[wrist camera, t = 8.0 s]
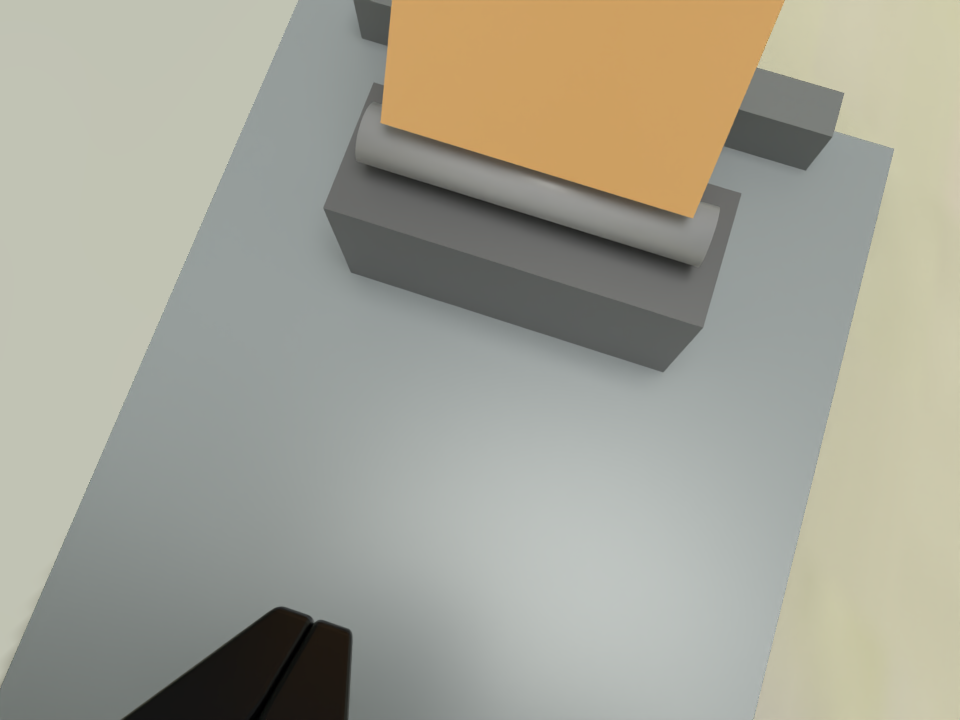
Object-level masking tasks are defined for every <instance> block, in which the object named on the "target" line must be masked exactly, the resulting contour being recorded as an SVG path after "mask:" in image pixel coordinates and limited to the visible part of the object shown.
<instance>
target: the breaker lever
mask: <svg viewBox="0 0 960 720" xmlns="http://www.w3.org/2000/svg"><path fill="white" fill-rule="evenodd" d="M784 1H785V0H392V5H391V16H390V26H389V37H388V48H387V58H386V69H385V80H384V90H383V101H382V104H379V103H375V102H372V103H371V104H370V105H369V106H368V108H367V109H366V111H365V113H364V115H363V118H362V120H361V123H360V127H359V130H358V134H357V139H356V147H355V156H356V160H357V161H358V162H360V163H363V164H367V165H370V166H373V167H376V168H380V169H383V170H386V171H389V172H392V173H396V174H399V175H402V176H405V177H409V178H412V179H415V180H418V181H422V182H425V183H428V184H431V185H434V186H438V187H441V188H444V189H447V190H451V191H454V192H457V193H460V194H463V195H467V196H470V197H473V198H476V199H480V200H483V201H486V202H489V203H493V204H496V205H499V206H502V207H505V208H509V209H512V210H515V211H518V212H522V213H525V214H528V215H531V216H535V217H538V218H541V219H544V220H547V221H551V222H554V223H557V224H560V225H564V226H567V227H570V228H573V229H577V230H580V231H583V232H586V233H589V234H593V235H596V236H599V237H602V238H606V239H609V240H612V241H615V242H618V243H622V244H625V245H628V246H631V247H635V248H638V249H641V250H644V251H648V252H651V253H654V254H657V255H660V256H664V257H667V258H670V259H673V260H677V261H680V262H683V263H686V264H690V265H693V266H696V267H699V266H700V265H701V263H702V262H703V260H704V258H705V255H706V253H707V251H708V248H709V246H710V243H711V240H712V238H713V235H714V232H715V229H716V225H717V222H718V218H719V213H720V207H718V206H714V205H711V204H708V203H705V202H701V198H702V196H703V193H704V191H705V189H706V186H707V184H708V182H709V179H710V177H711V174H712V172H713V170H714V167H715V165H716V163H717V160H718V158H719V155H720V153H721V151H722V148H723V146H724V144H725V141H726V139H727V136H728V134H729V132H730V129H731V127H732V125H733V122H734V120H735V117H736V115H737V113H738V110H739V108H740V106H741V103H742V101H743V98H744V96H745V94H746V91H747V89H748V87H749V84H750V82H751V79H752V77H753V75H754V72H755V70H756V67H757V65H758V63H759V60H760V58H761V56H762V53H763V51H764V48H765V46H766V44H767V41H768V39H769V37H770V34H771V32H772V29H773V27H774V25H775V22H776V20H777V18H778V15H779V13H780V10H781V8H782V6H783V3H784Z"/></svg>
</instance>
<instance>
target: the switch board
mask: <svg viewBox="0 0 960 720" xmlns="http://www.w3.org/2000/svg"><path fill="white" fill-rule="evenodd" d="M391 5H392V0H299V1H298V3H297V5H296V7H295V10H294V12H293V14H292V17H291V19H290V21H289V23H288V26H287V28H286V30H285V33H284V35H283V37H282V40H281V42H280V44H279V47H278V49H277V51H276V53H275V56H274V58H273V60H272V63H271V65H270V67H269V70H268V72H267V74H266V77H265V79H264V81H263V83H262V86H261V88H260V90H259V93H258V95H257V97H256V100H255V102H254V104H253V107H252V109H251V111H250V114H249V116H248V118H247V121H246V123H245V125H244V127H243V130H242V132H241V134H240V137H239V139H238V141H237V143H236V146H235V148H234V150H233V153H232V155H231V157H230V160H229V162H228V164H227V167H226V169H225V172H224V173H223V176H222V178H221V180H220V183H219V185H218V187H217V190H216V192H215V194H214V197H213V199H212V201H211V203H210V206H209V208H208V210H207V213H206V215H205V217H204V220H203V222H202V224H201V227H200V229H199V231H198V234H197V236H196V238H195V240H194V243H193V245H192V247H191V250H190V252H189V254H188V256H187V259H186V261H185V263H184V266H183V268H182V270H181V273H180V275H179V277H178V279H177V282H176V284H175V286H174V289H173V292H172V293H171V296H170V298H169V300H168V303H167V305H166V307H165V310H164V312H163V314H162V316H161V319H160V321H159V324H158V326H157V328H156V330H155V333H154V335H153V337H152V340H151V342H150V344H149V346H148V349H147V351H146V353H145V356H144V358H143V360H142V363H141V365H140V367H139V370H138V372H137V374H136V376H135V379H134V381H133V383H132V386H131V388H130V390H129V393H128V395H127V397H126V399H125V402H124V404H123V406H122V409H121V411H120V414H119V416H118V418H117V420H116V423H115V425H114V427H113V430H112V432H111V434H110V436H109V439H108V441H107V443H106V446H105V448H104V450H103V452H102V455H101V457H100V459H99V462H98V464H97V467H96V469H95V471H94V474H93V476H92V478H91V480H90V482H89V485H88V487H87V490H86V492H85V494H84V496H83V499H82V501H81V503H80V506H79V508H78V510H77V513H76V515H75V517H74V519H73V522H72V524H71V526H70V529H69V531H68V533H67V536H66V538H65V540H64V542H63V545H62V547H61V549H60V552H59V554H58V556H57V559H56V561H55V563H54V566H53V568H52V570H51V572H50V575H49V577H48V579H47V582H46V584H45V586H44V589H43V591H42V593H41V596H40V598H39V600H38V602H37V605H36V607H35V609H34V612H33V614H32V616H31V619H30V621H29V623H28V625H27V628H26V630H25V632H24V635H23V637H22V639H21V642H20V644H19V646H18V649H17V651H16V653H15V655H14V658H13V660H12V662H11V665H10V667H9V669H8V672H7V674H6V676H5V679H4V681H3V683H2V685H1V688H0V720H121V719H122V718H123V717H125V716H126V715H128V714H129V713H130V712H132V711H133V710H134V709H136V708H137V707H138V706H140V705H141V704H143V703H144V702H145V701H147V700H148V699H149V698H151V697H152V696H154V695H155V694H156V693H158V692H159V691H160V690H162V689H163V688H165V687H166V686H167V685H169V684H170V683H171V682H173V681H174V680H175V679H177V678H178V677H180V676H181V675H182V674H184V673H185V672H186V671H188V670H189V669H191V668H192V667H193V666H195V665H196V664H197V663H199V662H200V661H202V660H203V659H204V658H206V657H207V656H208V655H210V654H211V653H212V652H214V651H215V650H217V649H218V648H219V647H221V646H222V645H223V644H225V643H226V642H228V641H229V640H230V639H232V638H233V637H234V636H236V635H237V634H239V633H240V632H241V631H243V630H244V629H245V628H247V627H248V626H249V625H251V624H252V623H254V622H255V621H256V620H258V619H259V618H260V617H262V616H263V615H265V614H266V613H267V612H269V611H270V610H272V609H273V608H275V607H279V606H284V607H287V608H290V609H293V610H296V611H299V612H302V613H305V614H308V615H310V616H311V617H312V618H313V619H314V623H315V622H316V621H317V620H325V621H328V622H331V623H334V624H337V625H340V626H343V627H345V628H348V629H350V630H351V631H352V634H353V646H352V665H351V684H350V703H349V720H753V719H754V715H755V711H756V707H757V703H758V699H759V695H760V691H761V687H762V683H763V679H764V675H765V671H766V667H767V663H768V659H769V654H770V650H771V646H772V642H773V638H774V634H775V630H776V626H777V622H778V618H779V614H780V610H781V606H782V602H783V598H784V594H785V590H786V586H787V581H788V577H789V573H790V569H791V565H792V561H793V557H794V553H795V549H796V545H797V541H798V537H799V533H800V529H801V525H802V521H803V517H804V512H805V508H806V504H807V500H808V496H809V492H810V488H811V484H812V480H813V476H814V472H815V468H816V464H817V460H818V456H819V452H820V448H821V444H822V439H823V435H824V431H825V427H826V423H827V419H828V415H829V411H830V407H831V403H832V399H833V395H834V391H835V387H836V383H837V379H838V375H839V370H840V366H841V362H842V358H843V354H844V350H845V346H846V342H847V338H848V334H849V330H850V326H851V322H852V318H853V314H854V310H855V306H856V302H857V297H858V293H859V289H860V285H861V281H862V277H863V273H864V269H865V265H866V261H867V257H868V253H869V249H870V245H871V241H872V237H873V233H874V228H875V224H876V220H877V216H878V212H879V208H880V204H881V200H882V196H883V192H884V188H885V184H886V180H887V176H888V172H889V168H890V164H891V160H892V155H893V151H894V149H893V148H889V147H886V146H883V145H879V144H876V143H872V142H869V141H866V140H862V139H859V138H855V137H852V136H849V135H845V134H842V133H838V132H835V131H834V130H835V126H836V122H837V118H838V115H839V111H840V107H841V103H842V99H843V96H844V93H842V92H839V91H835V90H832V89H829V88H825V87H822V86H818V85H815V84H811V83H808V82H804V81H801V80H798V79H794V78H791V77H787V76H784V75H780V74H777V73H774V72H770V71H767V70H763V69H760V68H756V70H755V72H754V75H753V77H752V79H751V82H750V84H749V87H748V89H747V91H746V94H745V96H744V98H743V101H742V103H741V106H740V108H739V110H738V113H737V115H736V117H735V120H734V122H733V125H732V127H731V129H730V132H729V134H728V136H727V139H726V141H725V144H724V146H723V148H722V151H721V153H720V155H719V158H718V160H717V163H716V165H715V167H714V170H713V172H712V174H711V177H710V179H709V182H708V184H707V186H706V189H705V191H704V193H703V196H702V198H701V202H705V203H708V204H711V205H714V206H718V207H720V213H719V218H718V222H717V225H716V229H715V232H714V235H713V238H712V240H711V243H710V246H709V248H708V251H707V253H706V255H705V258H704V260H703V262H702V263H701V265H700V266H699V267H696V266H693V265H690V264H686V263H683V262H680V261H677V260H673V259H670V258H667V257H664V256H660V255H657V254H654V253H651V252H648V251H644V250H641V249H638V248H635V247H631V246H628V245H625V244H622V243H618V242H615V241H612V240H609V239H606V238H602V237H599V236H596V235H593V234H589V233H586V232H583V231H580V230H577V229H573V228H570V227H567V226H564V225H560V224H557V223H554V222H551V221H547V220H544V219H541V218H538V217H535V216H531V215H528V214H525V213H522V212H518V211H515V210H512V209H509V208H505V207H502V206H499V205H496V204H493V203H489V202H486V201H483V200H480V199H476V198H473V197H470V196H467V195H463V194H460V193H457V192H454V191H451V190H447V189H444V188H441V187H438V186H434V185H431V184H428V183H425V182H422V181H418V180H415V179H412V178H409V177H405V176H402V175H399V174H396V173H392V172H389V171H386V170H383V169H380V168H376V167H373V166H370V165H367V164H363V163H360V162H358V161H357V160H356V156H355V147H356V139H357V134H358V130H359V127H360V123H361V120H362V118H363V115H364V113H365V111H366V109H367V108H368V106H369V105H370V104H371V103H372V102H375V103H379V104H382V101H383V90H384V80H385V69H386V58H387V48H388V37H389V26H390V16H391Z"/></svg>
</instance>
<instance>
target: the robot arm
mask: <svg viewBox="0 0 960 720" xmlns="http://www.w3.org/2000/svg"><path fill="white" fill-rule="evenodd" d="M352 646H353V634H352V631H351V630H350V629H348V628H345V627H343V626H340V625H337V624H334V623H331V622H328V621H325V620H317V621H316V622H315V623H314V619H313V618H312V617H311V616H310V615H308V614H305V613H302V612H299V611H296V610H293V609H290V608H287V607H284V606H279V607H275V608H273V609H272V610H270V611H269V612H267V613H266V614H265V615H263V616H262V617H260V618H259V619H258V620H256V621H255V622H254V623H252V624H251V625H249V626H248V627H247V628H245V629H244V630H243V631H241V632H240V633H239V634H237V635H236V636H234V637H233V638H232V639H230V640H229V641H228V642H226V643H225V644H223V645H222V646H221V647H219V648H218V649H217V650H215V651H214V652H212V653H211V654H210V655H208V656H207V657H206V658H204V659H203V660H202V661H200V662H199V663H197V664H196V665H195V666H193V667H192V668H191V669H189V670H188V671H186V672H185V673H184V674H182V675H181V676H180V677H178V678H177V679H175V680H174V681H173V682H171V683H170V684H169V685H167V686H166V687H165V688H163V689H162V690H160V691H159V692H158V693H156V694H155V695H154V696H152V697H151V698H149V699H148V700H147V701H145V702H144V703H143V704H141V705H140V706H138V707H137V708H136V709H134V710H133V711H132V712H130V713H129V714H128V715H126V716H125V717H123V718H122V719H121V720H349V703H350V684H351V665H352Z"/></svg>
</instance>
